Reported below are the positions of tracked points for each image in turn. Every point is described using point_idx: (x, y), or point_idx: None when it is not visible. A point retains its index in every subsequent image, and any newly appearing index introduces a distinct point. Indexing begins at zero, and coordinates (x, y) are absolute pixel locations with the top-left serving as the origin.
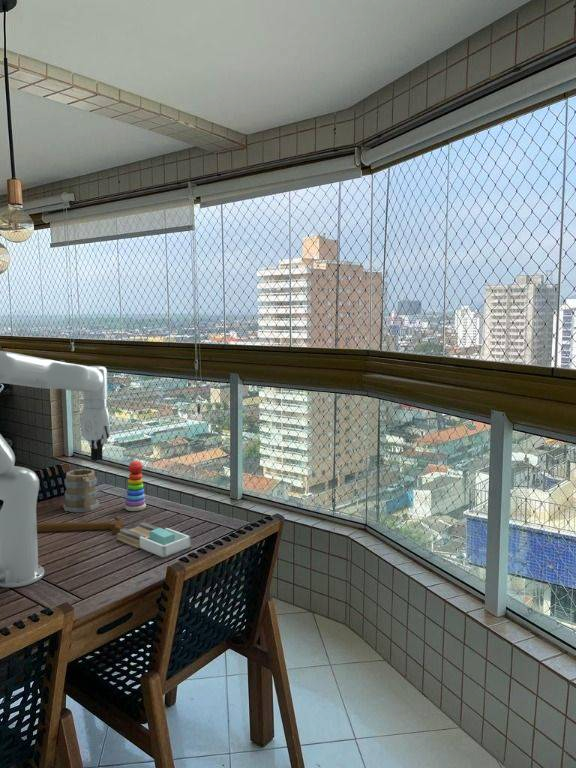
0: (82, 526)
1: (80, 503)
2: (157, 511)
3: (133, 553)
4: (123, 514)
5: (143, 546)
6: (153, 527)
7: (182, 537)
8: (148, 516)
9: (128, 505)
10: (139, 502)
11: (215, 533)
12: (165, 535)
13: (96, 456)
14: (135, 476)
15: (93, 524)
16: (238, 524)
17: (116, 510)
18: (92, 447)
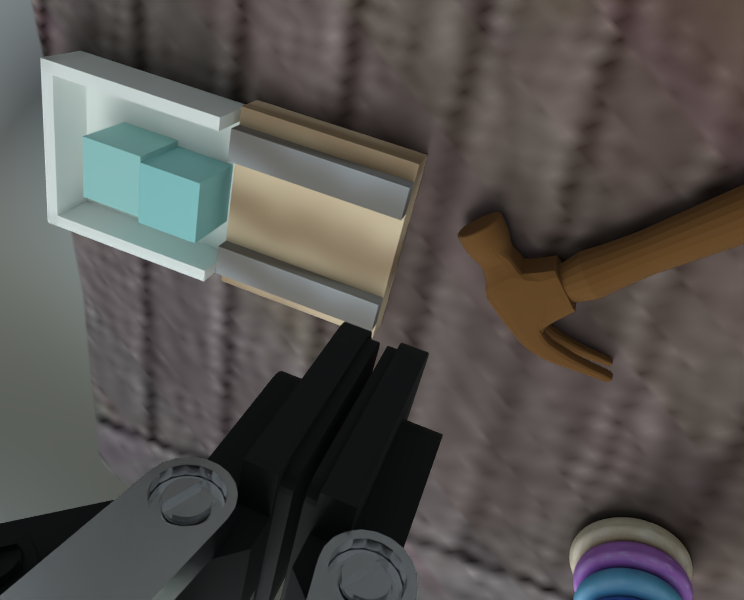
0: (731, 198)
1: None
2: (490, 533)
3: (224, 28)
4: (640, 473)
5: (212, 99)
6: (275, 278)
7: (95, 222)
8: (489, 470)
9: (648, 546)
10: (582, 564)
11: (110, 361)
12: (98, 160)
13: (295, 386)
14: None
15: (662, 238)
16: (109, 458)
17: (723, 517)
18: (344, 547)
